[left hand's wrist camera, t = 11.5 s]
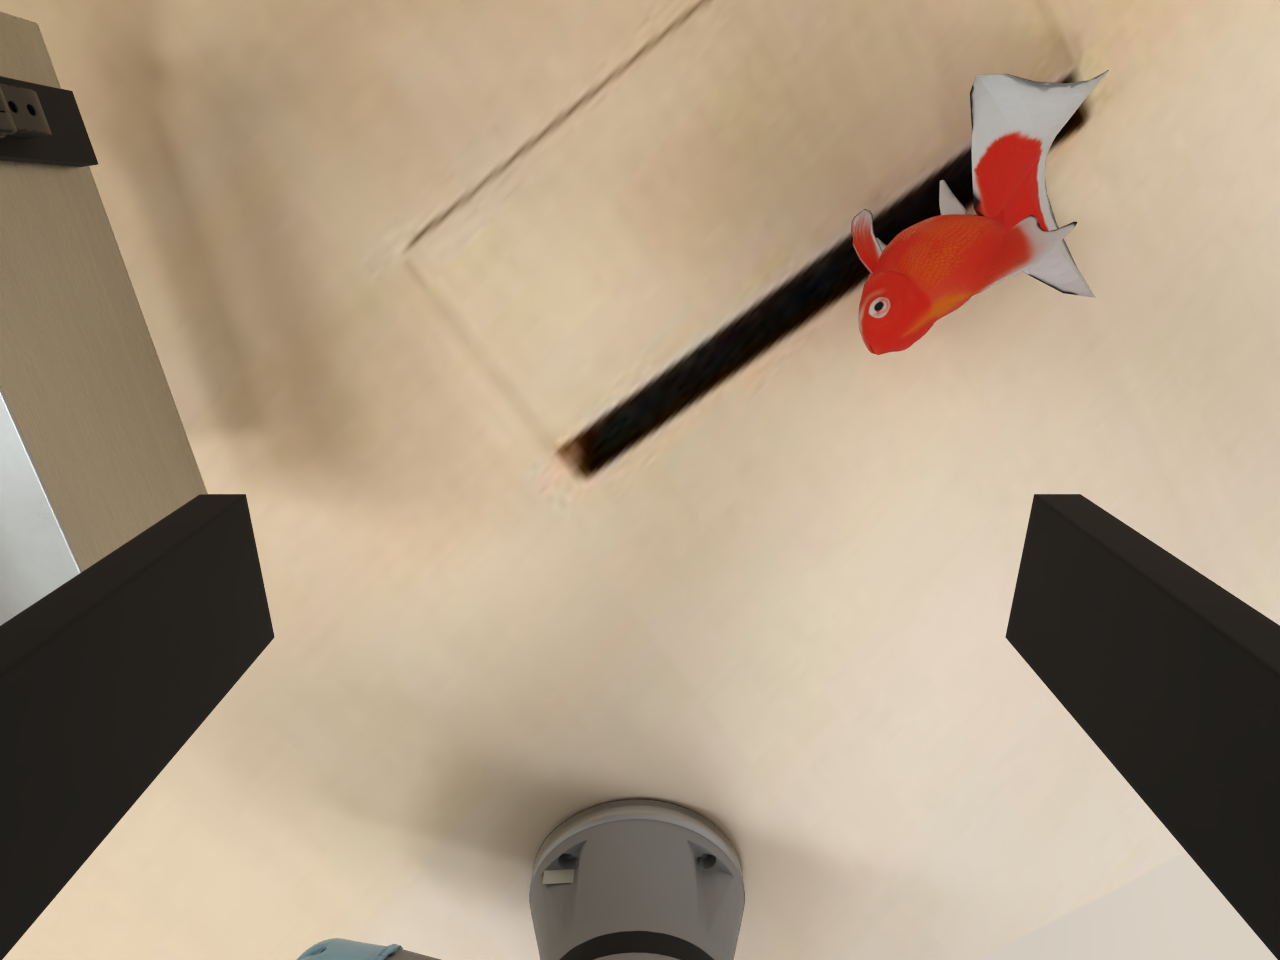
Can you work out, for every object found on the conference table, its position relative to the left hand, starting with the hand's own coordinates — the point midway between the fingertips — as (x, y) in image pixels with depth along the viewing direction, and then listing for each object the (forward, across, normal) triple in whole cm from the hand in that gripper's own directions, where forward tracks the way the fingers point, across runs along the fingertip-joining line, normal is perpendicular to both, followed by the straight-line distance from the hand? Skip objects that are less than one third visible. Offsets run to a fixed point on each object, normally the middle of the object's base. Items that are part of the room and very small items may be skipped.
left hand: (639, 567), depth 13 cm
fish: (+29, -16, -6) cm, 34 cm away
